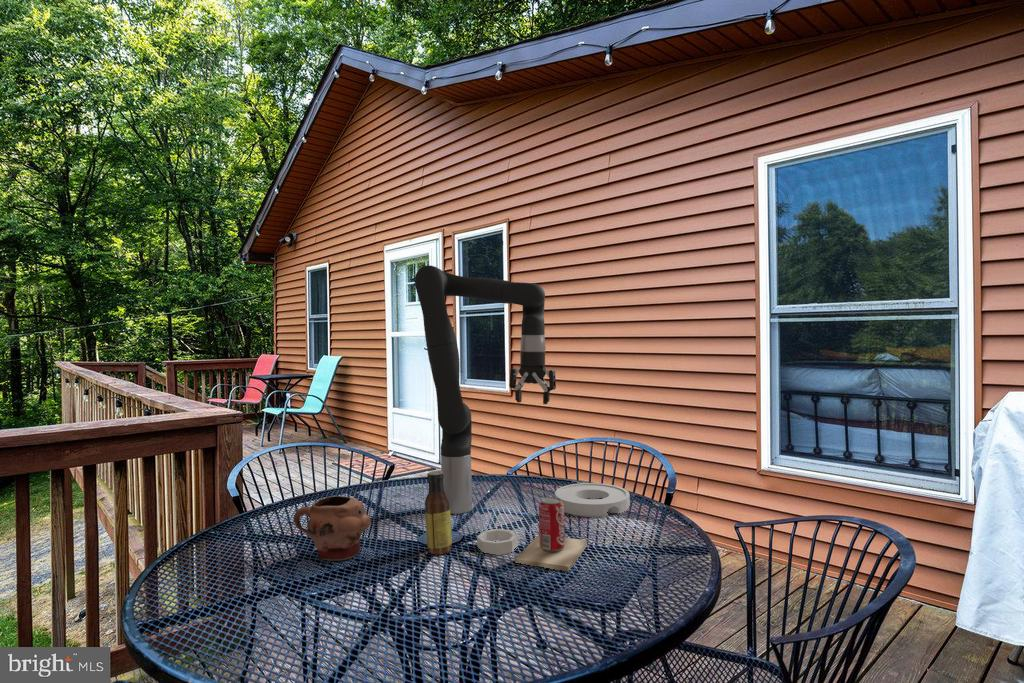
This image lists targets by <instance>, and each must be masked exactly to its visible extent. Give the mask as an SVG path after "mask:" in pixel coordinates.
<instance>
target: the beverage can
mask: <svg viewBox="0 0 1024 683" xmlns="http://www.w3.org/2000/svg"><path fill="white" fill-rule="evenodd" d="M538 527H539V530H538V532H539V534H538V535H539V540H540V547H541V548H543V549H544V550H546V551H550V552H554V551H559V550H561V549H562V548H564V546H565V538H566V536H565V535H566V534H565V533H566V532H565V530H566V528H565V512H564V505H563V503H562V500H561V499H560V498H556V497H555V496H547V497H543V498H541V501H540V503H539V505H538Z"/></svg>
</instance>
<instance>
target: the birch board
mask: <svg viewBox="0 0 1024 683" xmlns="http://www.w3.org/2000/svg"><path fill="white" fill-rule="evenodd" d="M587 546H588V540H587V539H579V538H578V539H577V538H569V537H565V546H564V548H562V549H561V550H559V551H554V552H550V551H546V550H544V549H543V548H541V547H540V540H539V534H538V535H537V536H536V537H535V538H534V539H533V540H532V541H531V542H530V543H529V544H528V545H527V546H526V547H525V548H524V549H523V551H521V552H520V553H519V555H518V556H517V557H516V558H515V559H514V562H515V563H521V564H527V565H532V566H539V567H544V568H543V569H546V568H550V569H549V570H553V569H555V570H556V571H560V570H562V571H561V572H567V571H569V572H570V570H571V568H573V566H574V564H575V563H577V560H578V559H579V558H580V556H581V554H582V553H583V552H584V550H585V549H586V548H587ZM532 566H531V567H532ZM539 567H538V568H539ZM555 570H554V571H555Z"/></svg>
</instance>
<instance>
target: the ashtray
mask: <svg viewBox="0 0 1024 683" xmlns="http://www.w3.org/2000/svg"><path fill="white" fill-rule="evenodd" d="M554 497H556V498H560V499H561V500H562V503H563V505H564V514H569V515H572V516H580V517H586V518H587V517H588V518H589V517H590V518H598V517H599V518H600V517H602V518H604V517H608V516H609V514H613V513H617V515H620V514H619V513H621V514H623V513H625V512H627V511H628V510H629V509H630V508H629V506H630V505H631V502H630V500H631V499H630V498H631V496H630V492H629V491H628V490H627V489H625V488H623V487H622V486H621V487H620V486H618V485H614V484H608V483H600V482H599V483H598V482H580V483H571V484H567V485H564V486H561V487H558V488H556V490H555V492H554ZM586 498H603V499H586ZM628 508H629V509H628ZM627 509H628V510H627ZM626 510H627V511H626ZM624 511H625V512H624ZM607 512H608V513H607ZM622 512H623V513H622Z"/></svg>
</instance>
